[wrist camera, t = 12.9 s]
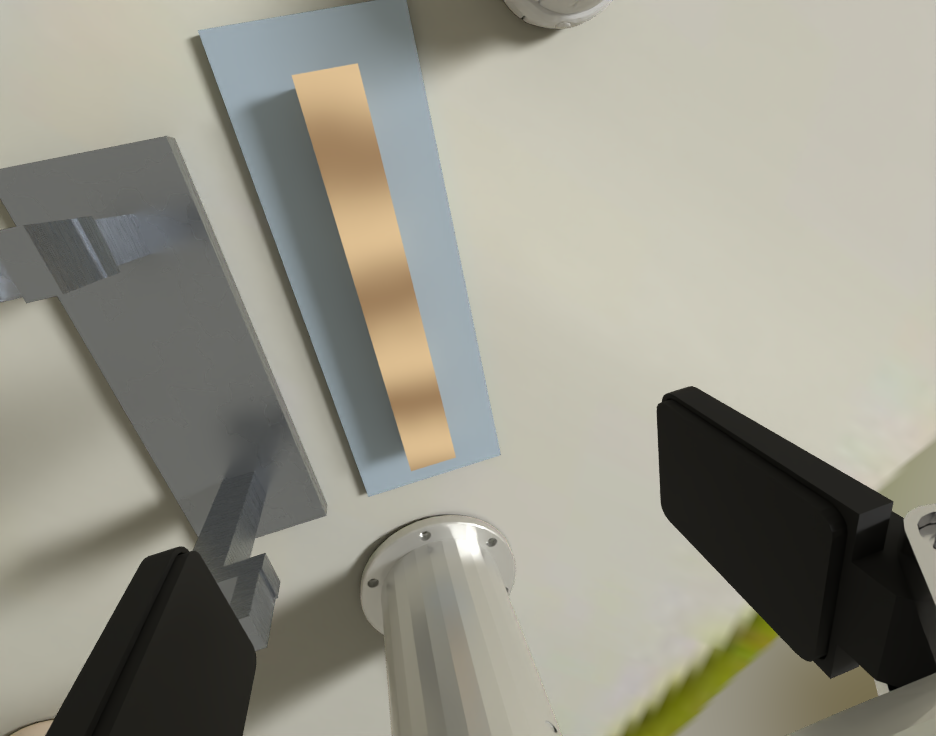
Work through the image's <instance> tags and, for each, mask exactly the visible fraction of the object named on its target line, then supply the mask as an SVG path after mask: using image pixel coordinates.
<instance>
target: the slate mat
mask: <svg viewBox="0 0 936 736" xmlns="http://www.w3.org/2000/svg"><path fill="white" fill-rule="evenodd" d="M198 32H199V35H200V38H201V41H202V43H203V46H204V49H205V51H206V54H207V57H208V60H209V62H210V65H211V68H212V71H213V73H214V76H215V79H216V82H217V84H218V87H219V90H220V92H221V95H222V98H223V101H224V103H225V106H226V109H227V112H228V114H229V117H230V120H231V123H232V125H233V128H234V131H235V133H236V136H237V139H238V142H239V144H240V147H241V150H242V153H243V155H244V158H245V161H246V164H247V166H248V169H249V172H250V174H251V177H252V180H253V183H254V185H255V188H256V191H257V194H258V196H259V199H260V202H261V204H262V207H263V210H264V213H265V215H266V218H267V221H268V224H269V226H270V229H271V232H272V235H273V237H274V240H275V243H276V245H277V248H278V251H279V254H280V256H281V259H282V262H283V265H284V267H285V270H286V273H287V276H288V278H289V281H290V284H291V286H292V289H293V292H294V295H295V297H296V300H297V303H298V306H299V308H300V311H301V314H302V317H303V319H304V322H305V325H306V327H307V330H308V333H309V336H310V338H311V341H312V344H313V347H314V349H315V352H316V355H317V357H318V360H319V363H320V366H321V368H322V371H323V374H324V377H325V379H326V382H327V385H328V388H329V390H330V393H331V396H332V398H333V401H334V404H335V407H336V409H337V412H338V415H339V418H340V420H341V423H342V426H343V429H344V431H345V434H346V437H347V439H348V442H349V445H350V448H351V450H352V453H353V456H354V459H355V461H356V464H357V467H358V470H359V472H360V475H361V478H362V480H363V483H364V486H365V489H366V491H367V494H368V497H370V496H373V495H376V494H379V493H382V492H385V491H389V490H392V489H395V488H398V487H401V486H404V485H407V484H411V483H414V482H417V481H420V480H423V479H426V478H430V477H433V476H436V475H439V474H442V473H445V472H449V471H452V470H455V469H458V468H461V467H464V466H468V465H471V464H474V463H477V462H480V461H483V460H487V459H490V458H493V457H496V456H499V455H501V454H500V449H499V444H498V439H497V434H496V430H495V425H494V420H493V415H492V410H491V405H490V401H489V396H488V391H487V386H486V381H485V377H484V372H483V367H482V362H481V357H480V352H479V348H478V343H477V338H476V333H475V328H474V323H473V319H472V314H471V309H470V304H469V299H468V295H467V290H466V285H465V280H464V275H463V270H462V266H461V261H460V256H459V251H458V246H457V242H456V237H455V232H454V227H453V222H452V217H451V213H450V208H449V203H448V198H447V193H446V188H445V184H444V179H443V174H442V169H441V164H440V160H439V155H438V150H437V145H436V140H435V135H434V131H433V126H432V121H431V116H430V111H429V107H428V102H427V97H426V92H425V87H424V82H423V78H422V73H421V68H420V63H419V58H418V53H417V49H416V44H415V39H414V34H413V29H412V25H411V20H410V15H409V10H408V5H407V0H374V1H368V2H363V3H357V4H351V5H345V6H339V7H333V8H327V9H321V10H315V11H310V12H304V13H298V14H292V15H286V16H280V17H274V18H268V19H262V20H257V21H251V22H245V23H239V24H233V25H227V26H221V27H215V28H209V29H204V30H198ZM356 63H358V66H359V70H360V74H361V78H362V82H363V86H364V90H365V94H366V98H367V102H368V106H369V110H370V114H371V118H372V122H373V126H374V130H375V134H376V138H377V142H378V146H379V150H380V154H381V158H382V162H383V166H384V170H385V174H386V178H387V182H388V186H389V190H390V194H391V199H392V203H393V207H394V211H395V215H396V219H397V223H398V227H399V231H400V235H401V239H402V243H403V247H404V251H405V255H406V259H407V263H408V267H409V271H410V275H411V279H412V283H413V287H414V291H415V295H416V299H417V303H418V307H419V311H420V315H421V319H422V323H423V327H424V331H425V335H426V339H427V343H428V347H429V351H430V355H431V359H432V363H433V367H434V371H435V375H436V379H437V383H438V387H439V391H440V395H441V399H442V403H443V407H444V411H445V415H446V419H447V423H448V427H449V431H450V435H451V439H452V443H453V447H454V451H455V455H456V458H453V459H450V460H446V461H443V462H440V463H437V464H433V465H430V466H427V467H424V468H420V469H417V470H414V471H411V470H410V466H409V463H408V460H407V456H406V453H405V450H404V446H403V443H402V440H401V436H400V433H399V430H398V426H397V423H396V420H395V417H394V413H393V410H392V407H391V403H390V400H389V397H388V393H387V390H386V387H385V383H384V380H383V377H382V373H381V370H380V367H379V364H378V360H377V357H376V354H375V350H374V347H373V344H372V340H371V337H370V334H369V330H368V327H367V324H366V320H365V317H364V314H363V311H362V307H361V304H360V301H359V297H358V294H357V291H356V287H355V284H354V281H353V277H352V274H351V271H350V268H349V264H348V261H347V258H346V254H345V251H344V248H343V244H342V241H341V238H340V234H339V231H338V228H337V224H336V221H335V218H334V215H333V211H332V208H331V205H330V201H329V198H328V195H327V191H326V188H325V185H324V181H323V178H322V175H321V171H320V168H319V165H318V162H317V158H316V155H315V152H314V148H313V145H312V142H311V138H310V135H309V132H308V128H307V125H306V122H305V118H304V115H303V112H302V109H301V105H300V102H299V99H298V95H297V92H296V89H295V85H294V82H293V79H292V75H296V74H301V73H307V72H312V71H318V70H323V69H329V68H334V67H340V66H345V65H351V64H356Z"/></svg>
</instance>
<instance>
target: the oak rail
mask: <svg viewBox="0 0 936 736" xmlns="http://www.w3.org/2000/svg"><path fill="white" fill-rule="evenodd" d="M292 79H293V82H294V85H295V89H296V92H297V95H298V99H299V102H300V105H301V109H302V112H303V115H304V118H305V122H306V125H307V128H308V132H309V135H310V138H311V142H312V145H313V148H314V152H315V155H316V158H317V162H318V165H319V168H320V171H321V175H322V178H323V181H324V185H325V188H326V191H327V195H328V198H329V201H330V205H331V208H332V211H333V215H334V218H335V221H336V224H337V228H338V231H339V234H340V238H341V241H342V244H343V248H344V251H345V254H346V258H347V261H348V264H349V268H350V271H351V274H352V277H353V281H354V284H355V287H356V291H357V294H358V297H359V301H360V304H361V307H362V311H363V314H364V317H365V320H366V324H367V327H368V330H369V334H370V337H371V340H372V344H373V347H374V350H375V354H376V357H377V360H378V364H379V367H380V370H381V373H382V377H383V380H384V383H385V387H386V390H387V393H388V397H389V400H390V403H391V407H392V410H393V413H394V417H395V420H396V423H397V426H398V430H399V433H400V436H401V440H402V443H403V446H404V450H405V453H406V456H407V460H408V463H409V466H410V470H411V471H414V470H417V469H420V468H424V467H427V466H430V465H433V464H437V463H440V462H443V461H446V460H450V459H453V458H456V455H455V451H454V447H453V443H452V439H451V435H450V431H449V427H448V423H447V419H446V415H445V411H444V407H443V403H442V399H441V395H440V391H439V387H438V383H437V379H436V375H435V371H434V367H433V363H432V359H431V355H430V351H429V347H428V343H427V339H426V335H425V331H424V327H423V323H422V319H421V315H420V311H419V307H418V303H417V299H416V295H415V291H414V287H413V283H412V279H411V275H410V271H409V267H408V263H407V259H406V255H405V251H404V247H403V243H402V239H401V235H400V231H399V227H398V223H397V219H396V215H395V211H394V207H393V203H392V199H391V194H390V190H389V186H388V182H387V178H386V174H385V170H384V166H383V162H382V158H381V154H380V150H379V146H378V142H377V138H376V134H375V130H374V126H373V122H372V118H371V114H370V110H369V106H368V102H367V98H366V94H365V90H364V86H363V82H362V78H361V74H360V70H359V66H358V63H356V64H351V65H345V66H340V67H334V68H329V69H323V70H318V71H312V72H307V73H301V74H296V75H292Z"/></svg>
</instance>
